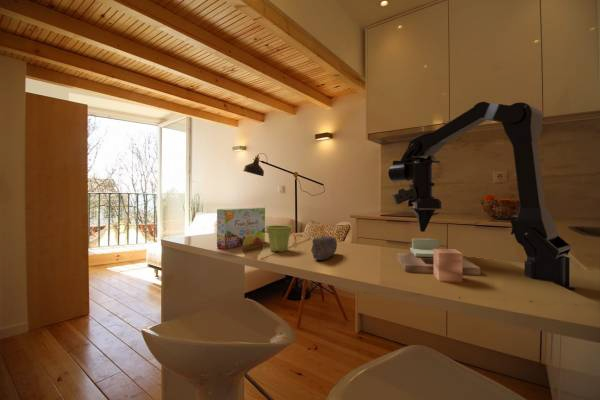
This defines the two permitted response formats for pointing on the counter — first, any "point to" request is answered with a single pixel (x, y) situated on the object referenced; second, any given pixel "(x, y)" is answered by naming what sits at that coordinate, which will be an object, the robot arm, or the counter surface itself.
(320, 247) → the perforated stone tool
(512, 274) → the counter surface
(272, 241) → the plant pot
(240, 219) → the snack box
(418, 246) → the slide cover
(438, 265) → the block
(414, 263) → the puzzle board
